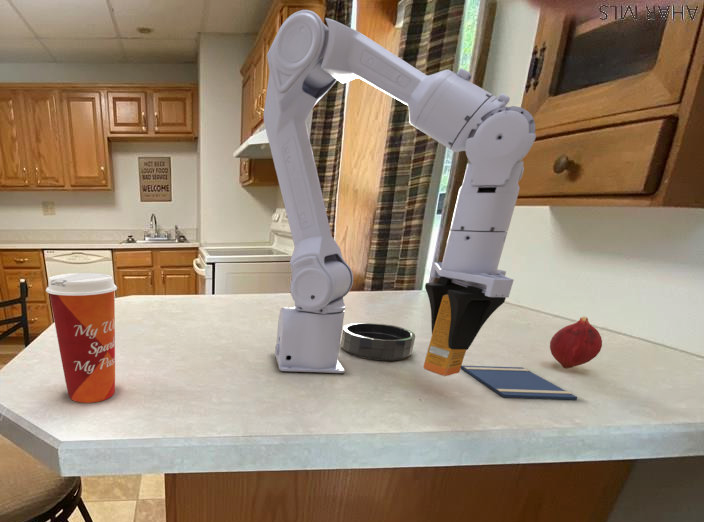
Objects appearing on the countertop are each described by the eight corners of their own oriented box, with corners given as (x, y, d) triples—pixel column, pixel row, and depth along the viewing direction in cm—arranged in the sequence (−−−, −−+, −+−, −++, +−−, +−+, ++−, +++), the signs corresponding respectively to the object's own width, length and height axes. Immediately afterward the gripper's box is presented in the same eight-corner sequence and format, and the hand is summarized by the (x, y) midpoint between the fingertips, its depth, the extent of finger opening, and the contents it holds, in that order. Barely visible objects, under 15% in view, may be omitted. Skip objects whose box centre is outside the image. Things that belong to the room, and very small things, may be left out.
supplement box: (446, 377, 54) (467, 299, 50) (422, 369, 57) (439, 294, 53) (462, 373, 55) (483, 297, 51) (437, 365, 58) (456, 292, 54)
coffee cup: (92, 412, 50) (80, 284, 44) (45, 397, 54) (28, 278, 48) (137, 389, 57) (131, 275, 51) (92, 376, 61) (82, 270, 55)
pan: (350, 360, 68) (353, 339, 67) (334, 340, 78) (336, 322, 77) (422, 362, 67) (427, 341, 66) (396, 342, 77) (400, 323, 76)
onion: (600, 376, 62) (622, 323, 59) (556, 373, 63) (575, 320, 60) (576, 363, 67) (595, 313, 64) (535, 360, 68) (552, 311, 65)
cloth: (503, 397, 55) (504, 393, 55) (460, 367, 65) (461, 364, 65) (576, 400, 54) (577, 396, 54) (521, 369, 64) (522, 366, 64)
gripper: (559, 235, 42) (517, 363, 47) (479, 228, 55) (454, 328, 61) (485, 234, 43) (452, 361, 48) (424, 227, 56) (403, 327, 61)
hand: (449, 343), depth 54 cm, fingers closed on supplement box, 4 cm apart
